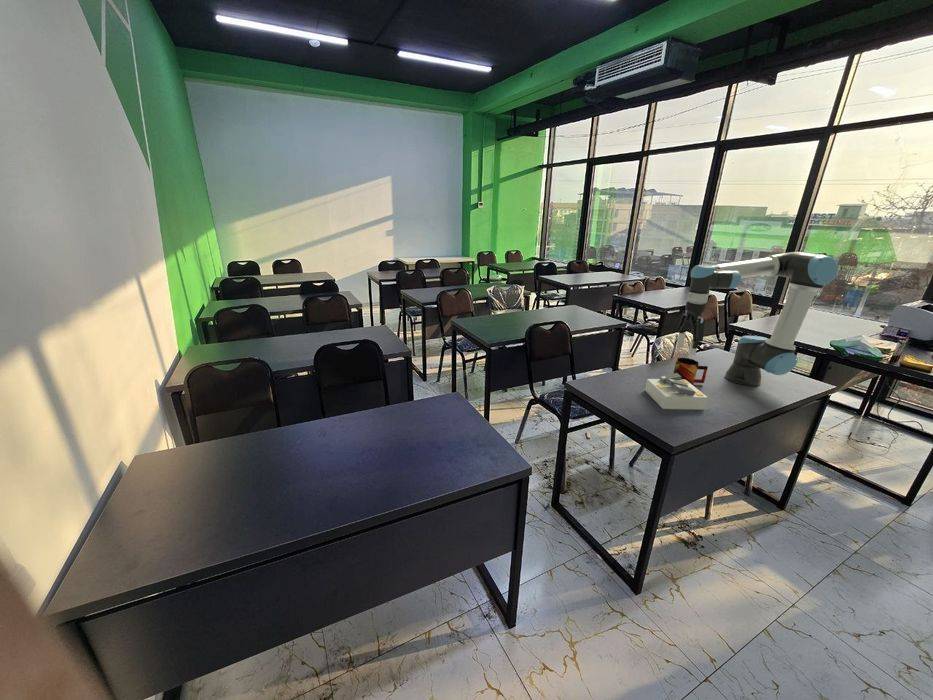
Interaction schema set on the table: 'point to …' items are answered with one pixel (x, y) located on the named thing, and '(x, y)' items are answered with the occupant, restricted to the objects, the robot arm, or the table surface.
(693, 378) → the mug
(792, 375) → the table surface
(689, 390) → the block
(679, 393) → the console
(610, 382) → the table surface
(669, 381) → the block
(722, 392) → the table surface
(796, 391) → the table surface
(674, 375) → the block
